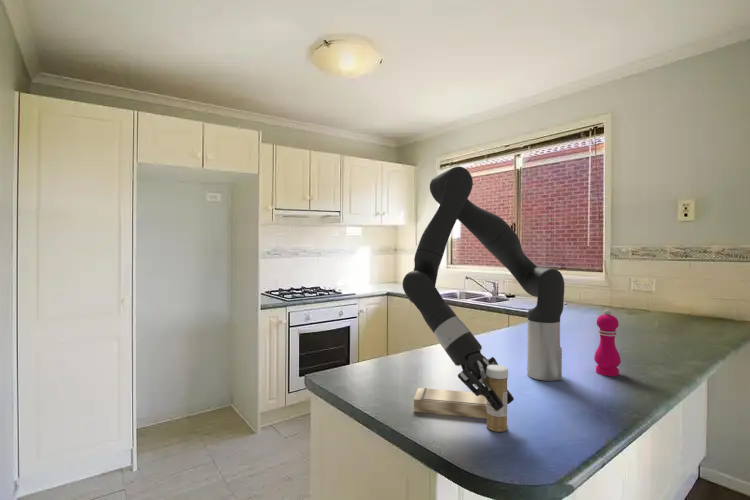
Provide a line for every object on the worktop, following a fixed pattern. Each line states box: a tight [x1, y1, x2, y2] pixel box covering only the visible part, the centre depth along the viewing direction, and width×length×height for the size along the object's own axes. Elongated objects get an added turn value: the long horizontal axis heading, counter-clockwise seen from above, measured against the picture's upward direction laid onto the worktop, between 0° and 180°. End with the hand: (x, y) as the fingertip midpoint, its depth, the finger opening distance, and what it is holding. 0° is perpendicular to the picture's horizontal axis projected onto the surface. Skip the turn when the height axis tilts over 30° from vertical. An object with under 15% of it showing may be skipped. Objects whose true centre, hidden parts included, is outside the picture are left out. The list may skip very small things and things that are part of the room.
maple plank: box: [413, 387, 487, 420], centre depth 99 cm, size 20×8×3 cm, turn 77°
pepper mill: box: [593, 309, 622, 377], centre depth 126 cm, size 7×7×20 cm
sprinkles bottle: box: [485, 364, 509, 433], centre depth 89 cm, size 5×5×14 cm
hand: (505, 405), depth 87 cm, fingers closed on sprinkles bottle, 4 cm apart
